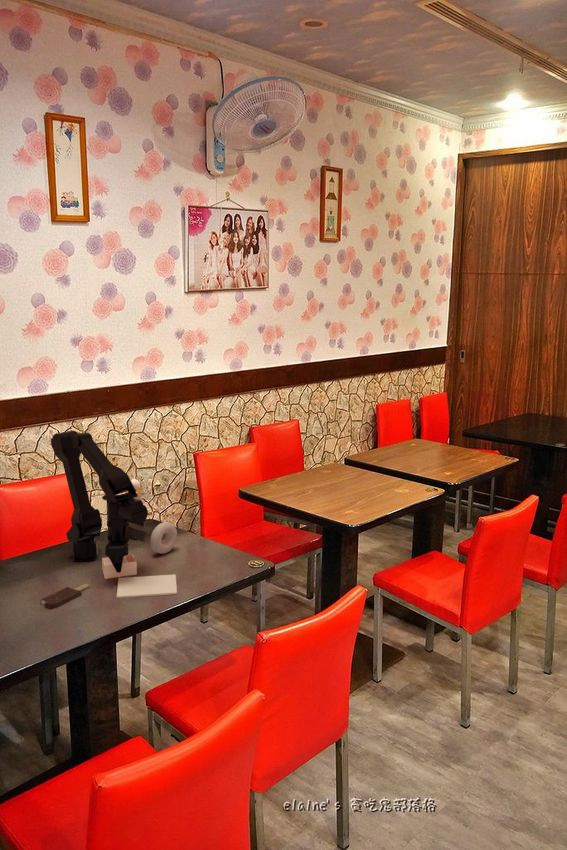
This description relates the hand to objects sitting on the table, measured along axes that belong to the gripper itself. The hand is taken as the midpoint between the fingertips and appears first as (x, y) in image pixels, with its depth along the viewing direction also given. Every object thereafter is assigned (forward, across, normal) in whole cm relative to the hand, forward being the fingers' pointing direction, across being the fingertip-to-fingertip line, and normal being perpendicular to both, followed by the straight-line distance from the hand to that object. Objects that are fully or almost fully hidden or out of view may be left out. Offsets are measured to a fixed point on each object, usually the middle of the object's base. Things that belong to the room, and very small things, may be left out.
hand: (119, 567), depth 206 cm
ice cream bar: (+2, -14, +13) cm, 19 cm away
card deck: (+2, 0, 0) cm, 2 cm away
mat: (+2, -11, -8) cm, 14 cm away
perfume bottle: (+2, +28, -4) cm, 28 cm away
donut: (+2, +13, -13) cm, 18 cm away
